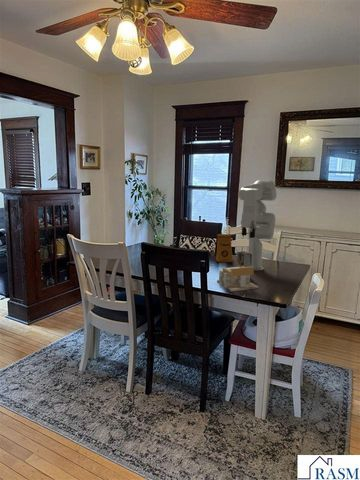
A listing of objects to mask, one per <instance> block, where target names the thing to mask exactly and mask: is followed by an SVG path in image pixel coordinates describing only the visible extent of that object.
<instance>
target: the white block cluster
mask: <svg viewBox="0 0 360 480" xmlns="http://www.w3.org/2000/svg"><path fill="white" fill-rule="evenodd" d="M225 268H226V269H228V270H230V271H231V268H240V267H236V266H233V267H225ZM218 272H219V275H218V279H217V280H216V283H218V284H220V285H221V286H222V287H224V288H226V289H227V290H228V291H229V292H238V291H246V290H255V289H256V290H257V289H259V285H256V284H255V283H253V282H251V278H250V275H241V276H231V275H229V274H227V273H226V272H224V271H223V269H219V271H218Z"/></svg>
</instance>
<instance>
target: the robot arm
mask: <svg viewBox="0 0 360 480" xmlns="http://www.w3.org/2000/svg"><path fill="white" fill-rule="evenodd" d="M275 184H276V183H275V182H274V181H273V180H271V179H270V180H269V179H268V180H267V179H266V180H265V179H264V180H263V179H262V180H261V179H257V180H256V181H255V182H253V183H252V184H248V185H244V186H242V187H241V188H240V189H239V191H238V198H239V199H240V200H241V201H243V206H242V214H241V220H240V225H241V236H247V234H248V253H250V254H252V260H251V266H253V267H254V271H263V270H264V266H262V262H263V261H262V260H263V259H262V258H263V243H262V241H261V240H272V239H273V237H274V233H275V226H276V214H274V213H272V212H267V206H266V204H265V203H263V201H268V202H269V201H272V202H273V201H275V200H276V199H277V189H276V185H275ZM247 229H248V230H247Z"/></svg>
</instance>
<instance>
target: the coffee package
mask: <svg viewBox="0 0 360 480" xmlns="http://www.w3.org/2000/svg"><path fill="white" fill-rule="evenodd" d="M216 237H217V240H216V241H217V243H216V244H217V245H216V255H215V261H216V262H219V263H232V261H233V247H232V234H229V233H228V234H227V233H226V234H224V233H221V234H220V233H217V235H216Z"/></svg>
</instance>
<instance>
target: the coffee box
mask: <svg viewBox="0 0 360 480" xmlns="http://www.w3.org/2000/svg"><path fill="white" fill-rule="evenodd" d="M251 260H252V254H250V253H249V252H247V251H237V252H236V260H235V261H236V262H235V264H236V266H235V267H241V266H244V267H251ZM251 277H252V274H251V275H250V279H251Z"/></svg>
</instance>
